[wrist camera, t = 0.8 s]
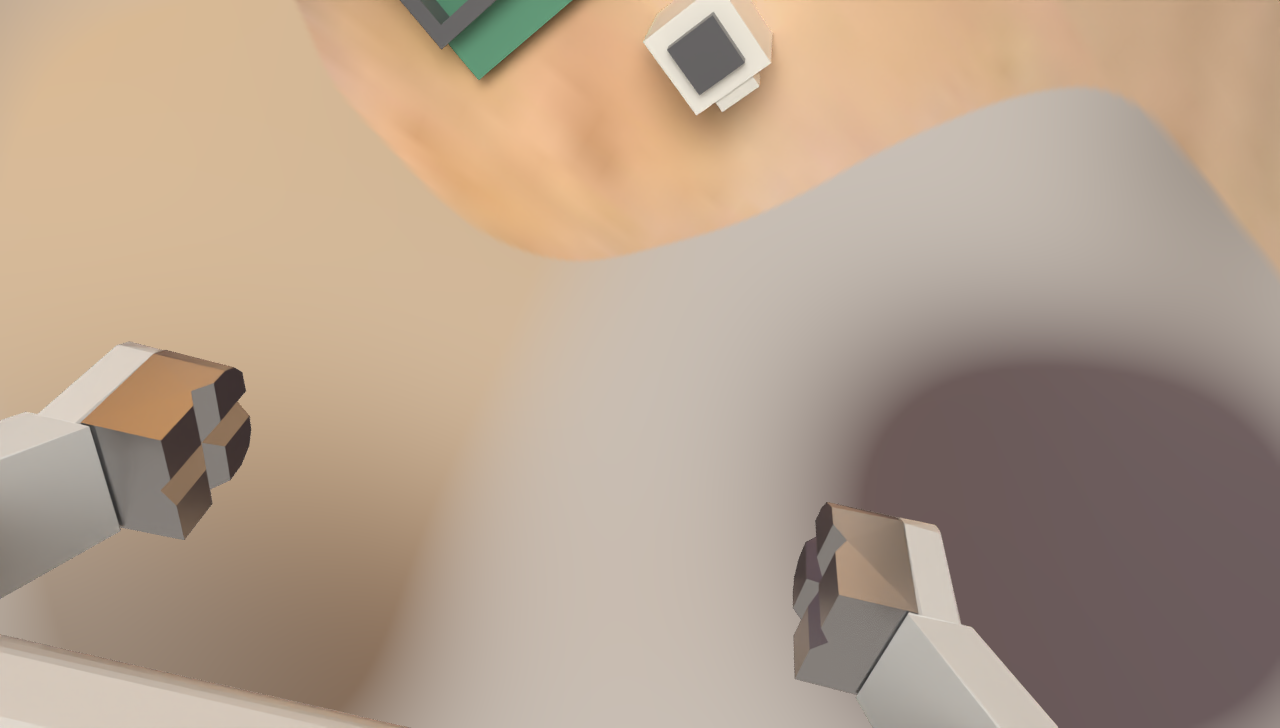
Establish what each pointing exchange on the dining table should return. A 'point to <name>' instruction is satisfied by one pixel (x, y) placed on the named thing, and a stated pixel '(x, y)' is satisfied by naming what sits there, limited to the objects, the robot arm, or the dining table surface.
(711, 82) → the white and grey block
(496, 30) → the header board
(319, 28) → the dining table surface
